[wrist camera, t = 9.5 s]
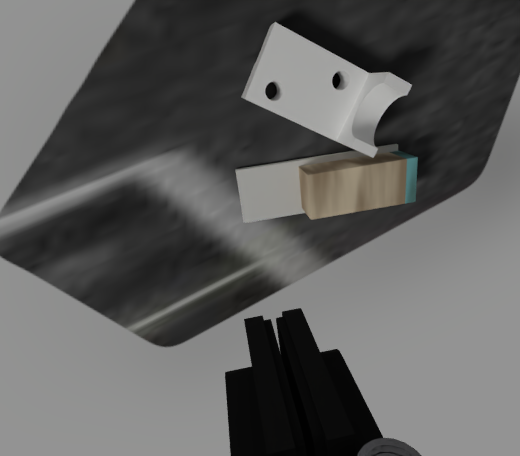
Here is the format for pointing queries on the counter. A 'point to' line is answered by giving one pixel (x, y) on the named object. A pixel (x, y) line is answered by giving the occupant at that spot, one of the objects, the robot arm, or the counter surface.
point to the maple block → (358, 184)
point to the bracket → (321, 89)
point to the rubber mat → (281, 185)
